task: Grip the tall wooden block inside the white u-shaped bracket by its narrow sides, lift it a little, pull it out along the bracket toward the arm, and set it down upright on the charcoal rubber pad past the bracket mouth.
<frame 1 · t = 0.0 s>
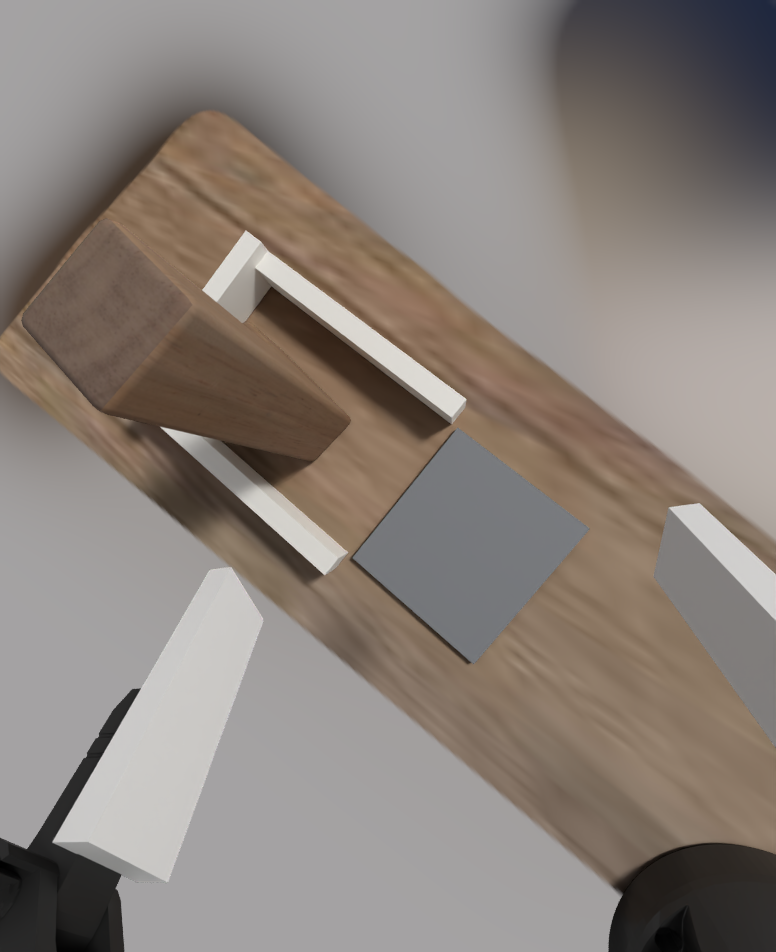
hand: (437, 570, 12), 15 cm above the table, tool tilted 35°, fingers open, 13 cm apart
white u-shaped bracket: (318, 422, 29), on the table
wooden block: (294, 403, 29), resting in white u-shaped bracket
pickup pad: (465, 543, 27), on the table
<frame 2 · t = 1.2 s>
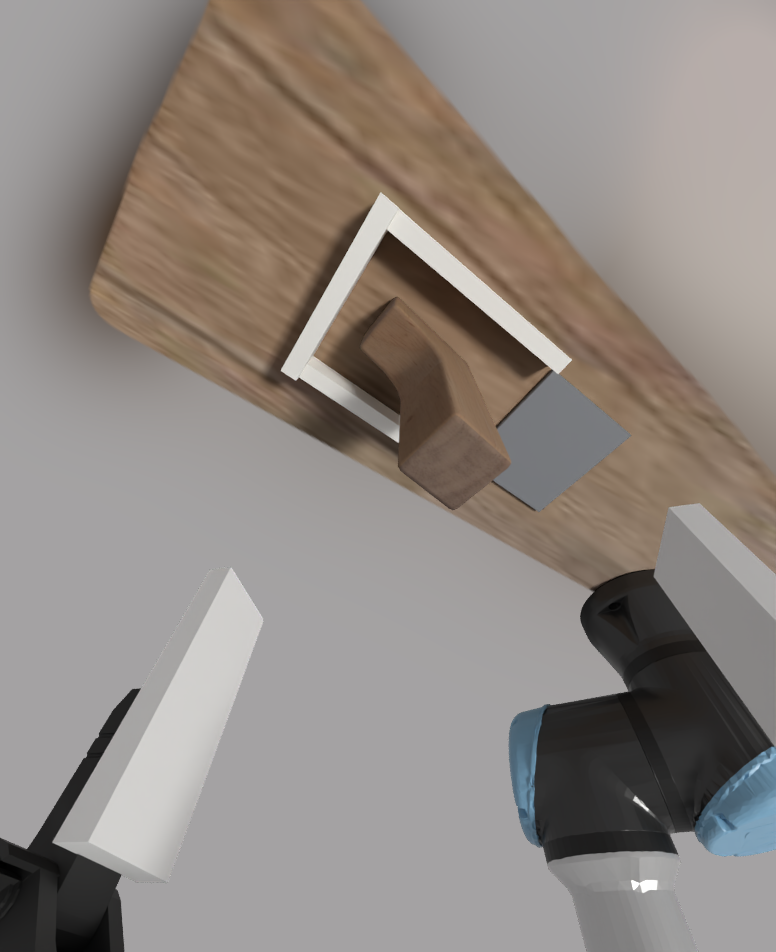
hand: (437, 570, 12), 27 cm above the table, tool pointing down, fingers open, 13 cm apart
white u-shaped bracket: (438, 367, 35), on the table
wooden block: (416, 349, 35), resting in white u-shaped bracket
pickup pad: (544, 447, 39), on the table
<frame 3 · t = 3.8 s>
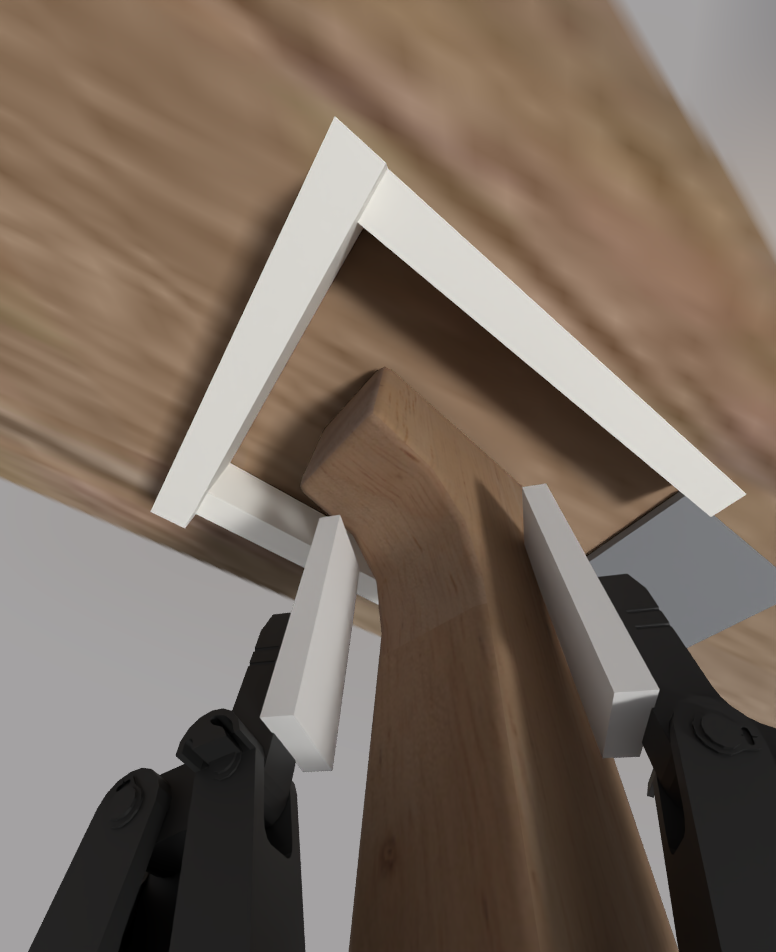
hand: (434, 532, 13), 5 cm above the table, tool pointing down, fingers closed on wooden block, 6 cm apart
white u-shaped bracket: (466, 483, 19), on the table
wooden block: (425, 456, 18), resting in white u-shaped bracket, touching gripper
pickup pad: (643, 600, 23), on the table
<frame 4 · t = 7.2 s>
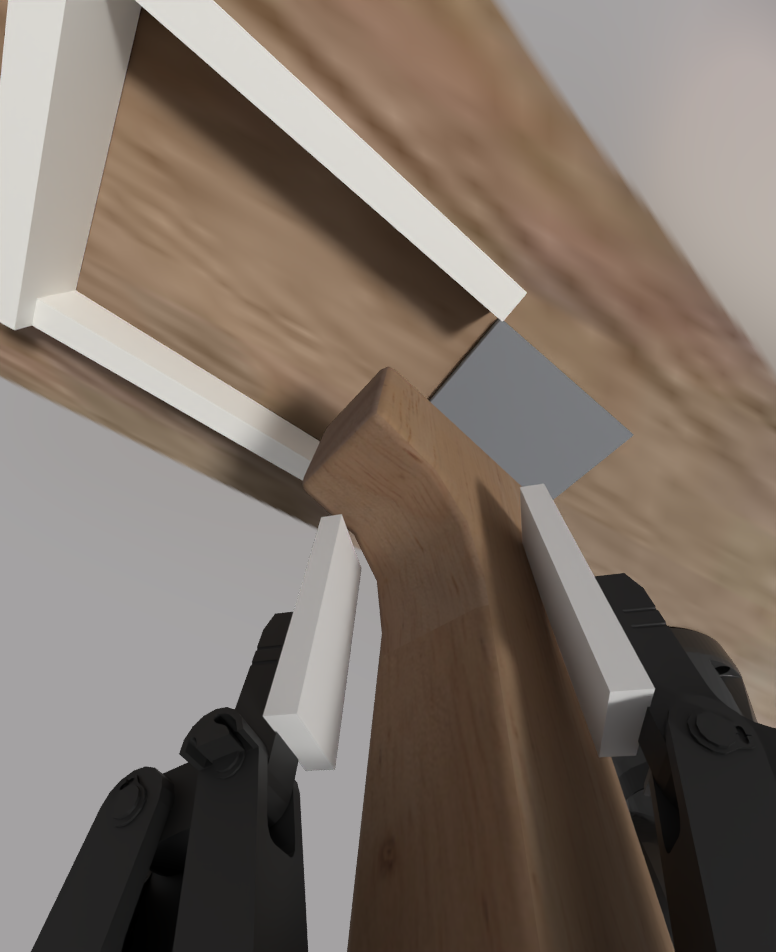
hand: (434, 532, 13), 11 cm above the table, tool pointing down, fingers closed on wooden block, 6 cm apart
white u-shaped bracket: (299, 313, 20), on the table
wooden block: (427, 456, 18), point 6 cm above the table, touching gripper
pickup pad: (493, 452, 24), on the table
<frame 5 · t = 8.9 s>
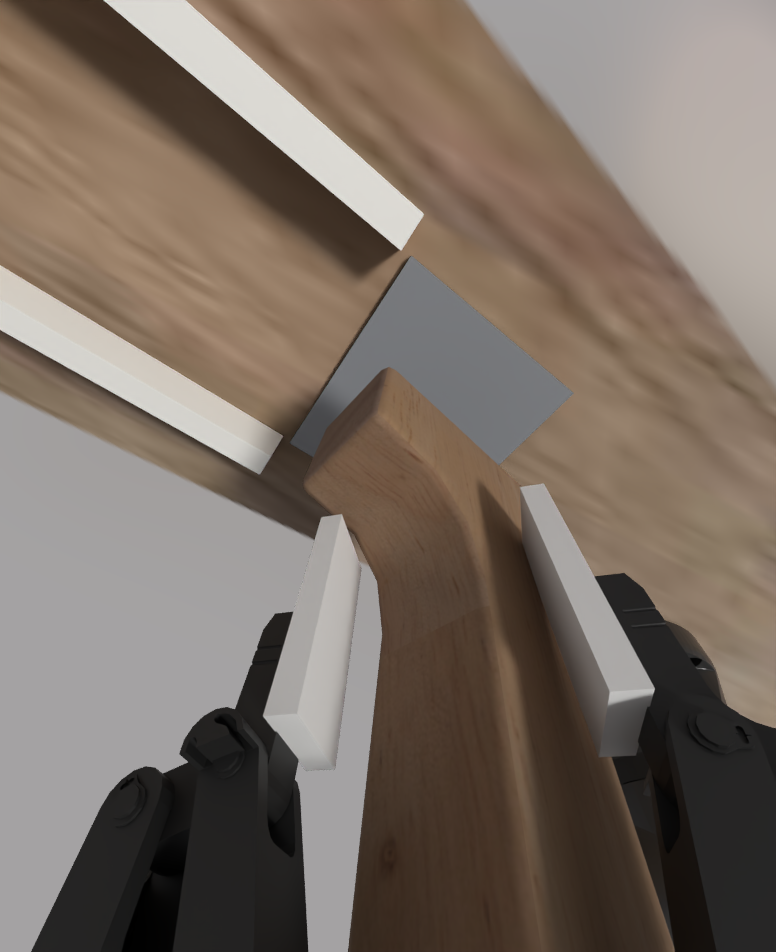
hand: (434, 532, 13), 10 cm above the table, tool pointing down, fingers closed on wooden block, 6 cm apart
white u-shaped bracket: (190, 253, 18), on the table
wooden block: (427, 456, 18), point 5 cm above the table, touching gripper
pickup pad: (423, 416, 22), on the table
when the fingers open (7 cm above the table, at t = 10.2 s): wooden block stays where it is, resting on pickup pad.
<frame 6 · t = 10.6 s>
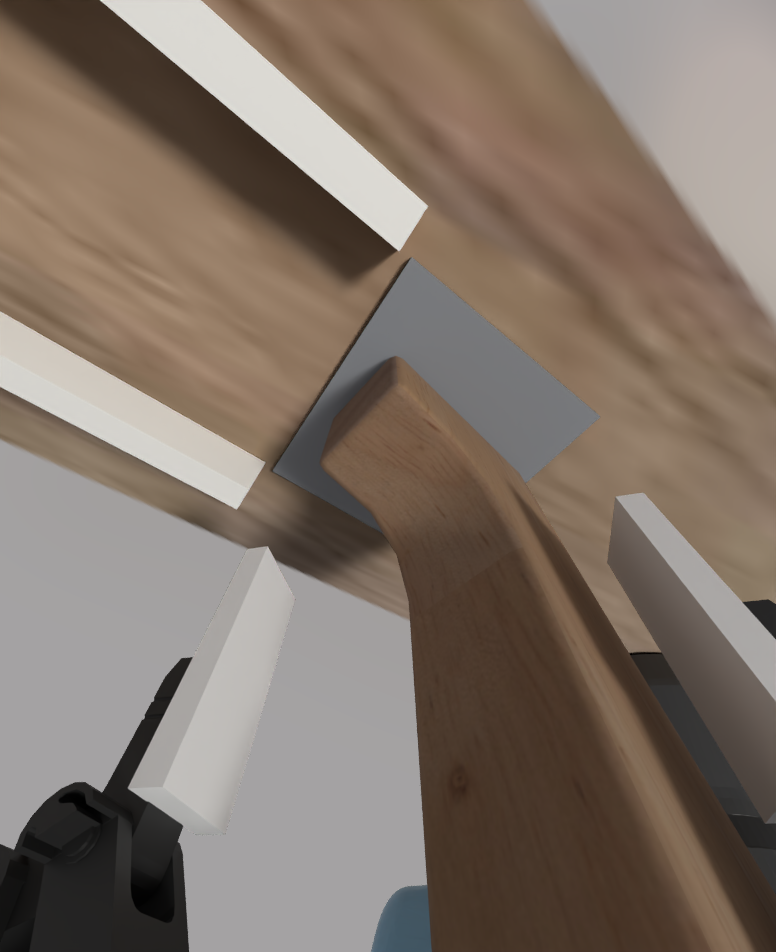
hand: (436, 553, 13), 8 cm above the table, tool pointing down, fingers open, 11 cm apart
white u-shaped bracket: (148, 254, 15), on the table
wooden block: (428, 446, 19), resting on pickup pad
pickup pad: (425, 441, 19), on the table
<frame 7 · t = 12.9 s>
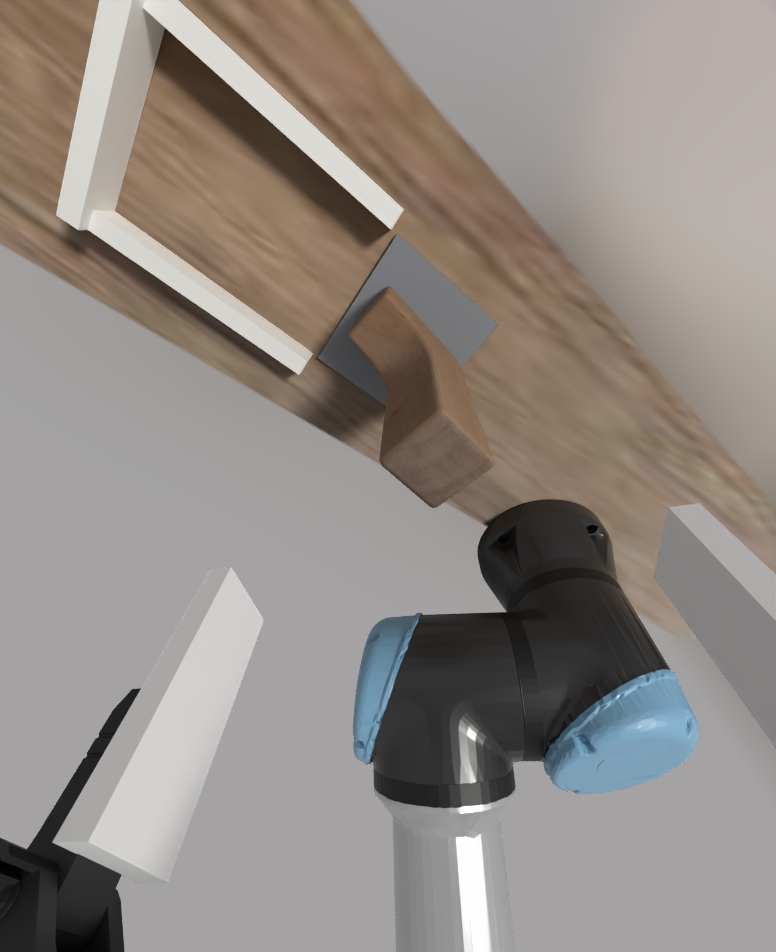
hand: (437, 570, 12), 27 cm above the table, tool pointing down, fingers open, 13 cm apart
white u-shaped bracket: (264, 229, 30), on the table
wooden block: (406, 342, 34), resting on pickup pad
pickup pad: (405, 340, 34), on the table
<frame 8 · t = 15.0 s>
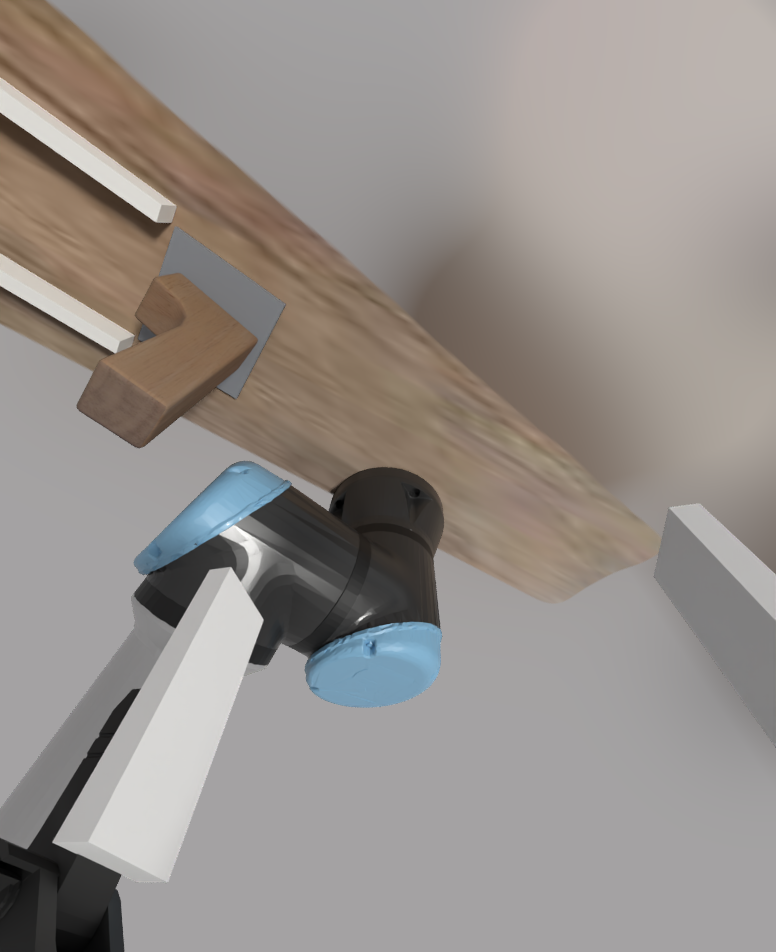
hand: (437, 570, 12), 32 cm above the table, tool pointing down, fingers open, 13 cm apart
white u-shaped bracket: (64, 226, 35), on the table
wooden block: (211, 323, 38), resting on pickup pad
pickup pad: (210, 321, 39), on the table
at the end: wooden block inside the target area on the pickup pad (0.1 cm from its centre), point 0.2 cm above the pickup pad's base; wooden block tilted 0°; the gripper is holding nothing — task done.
